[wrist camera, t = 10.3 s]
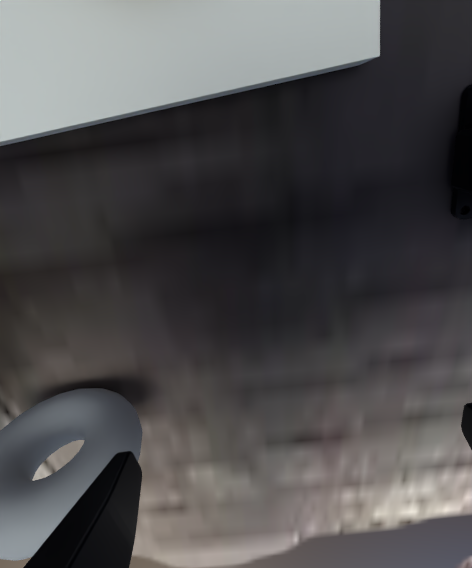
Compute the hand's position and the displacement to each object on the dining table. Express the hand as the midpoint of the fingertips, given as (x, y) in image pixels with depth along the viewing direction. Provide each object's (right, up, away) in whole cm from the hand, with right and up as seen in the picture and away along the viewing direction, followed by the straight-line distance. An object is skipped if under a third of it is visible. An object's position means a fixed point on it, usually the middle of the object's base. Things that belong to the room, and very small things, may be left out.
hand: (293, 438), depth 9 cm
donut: (-12, -4, +16) cm, 20 cm away
